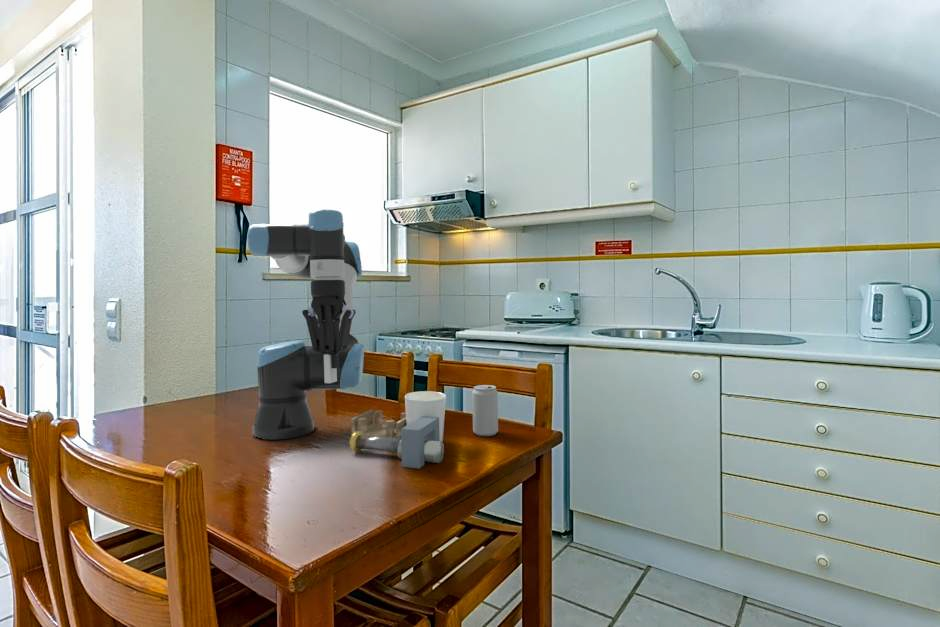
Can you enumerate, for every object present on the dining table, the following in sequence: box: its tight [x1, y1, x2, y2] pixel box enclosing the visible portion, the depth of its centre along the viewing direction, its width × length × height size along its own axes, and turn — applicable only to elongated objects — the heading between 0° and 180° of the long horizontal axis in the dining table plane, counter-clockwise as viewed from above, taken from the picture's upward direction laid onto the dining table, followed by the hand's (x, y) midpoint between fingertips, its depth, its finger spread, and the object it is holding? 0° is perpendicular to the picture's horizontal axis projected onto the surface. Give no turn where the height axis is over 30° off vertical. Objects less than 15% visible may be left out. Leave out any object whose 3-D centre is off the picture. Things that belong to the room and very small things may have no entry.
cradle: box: [348, 409, 406, 445], centre depth 127 cm, size 14×10×6 cm
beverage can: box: [471, 384, 499, 437], centre depth 131 cm, size 6×6×12 cm
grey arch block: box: [401, 416, 439, 470], centre depth 113 cm, size 4×11×8 cm, turn 161°
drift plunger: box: [349, 431, 401, 453], centre depth 116 cm, size 11×5×5 cm, turn 71°
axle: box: [396, 440, 445, 464], centre depth 113 cm, size 9×4×4 cm, turn 71°
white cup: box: [404, 390, 447, 442], centre depth 124 cm, size 10×10×12 cm
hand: (330, 382), depth 119 cm, fingers closed
